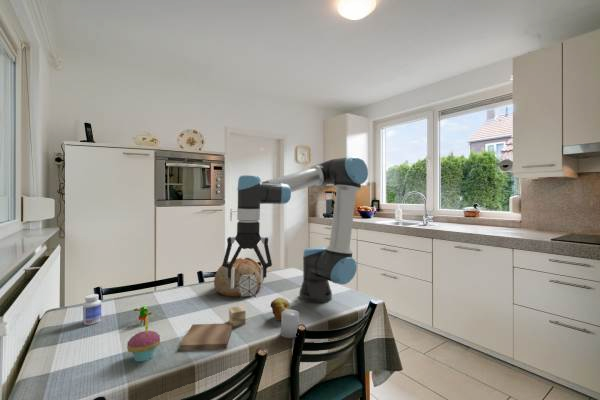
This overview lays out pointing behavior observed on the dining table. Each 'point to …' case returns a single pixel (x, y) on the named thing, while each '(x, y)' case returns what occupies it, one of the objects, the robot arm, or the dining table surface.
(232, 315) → the beech block
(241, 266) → the bread
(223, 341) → the board
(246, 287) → the game die
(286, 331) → the white rounded cylinder
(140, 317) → the toy character
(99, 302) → the pill bottle
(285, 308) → the fruit
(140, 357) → the cupcake
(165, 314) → the dining table surface
